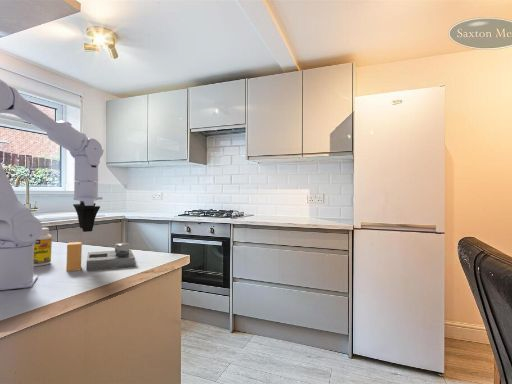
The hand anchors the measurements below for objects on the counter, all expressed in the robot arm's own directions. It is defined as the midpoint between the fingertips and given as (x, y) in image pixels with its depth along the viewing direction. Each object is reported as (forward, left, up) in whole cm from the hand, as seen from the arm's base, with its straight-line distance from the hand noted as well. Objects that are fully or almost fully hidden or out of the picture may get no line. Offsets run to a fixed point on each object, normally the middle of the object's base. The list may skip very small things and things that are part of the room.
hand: (85, 229), depth 82 cm
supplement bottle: (-11, +7, -11) cm, 17 cm away
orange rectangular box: (-2, -2, -10) cm, 11 cm away
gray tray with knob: (+7, +1, -10) cm, 12 cm away
